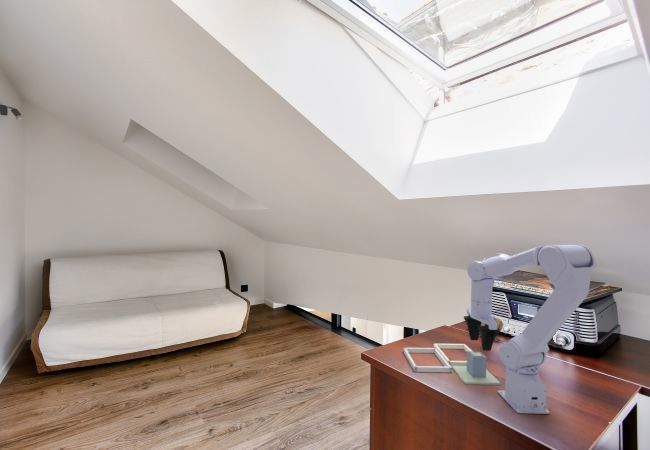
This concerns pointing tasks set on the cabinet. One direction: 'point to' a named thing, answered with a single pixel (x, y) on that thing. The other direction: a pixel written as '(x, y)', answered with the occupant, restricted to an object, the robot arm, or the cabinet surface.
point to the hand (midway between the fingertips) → (480, 344)
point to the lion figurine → (499, 323)
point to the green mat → (469, 379)
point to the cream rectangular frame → (452, 346)
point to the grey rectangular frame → (427, 368)
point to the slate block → (476, 364)
